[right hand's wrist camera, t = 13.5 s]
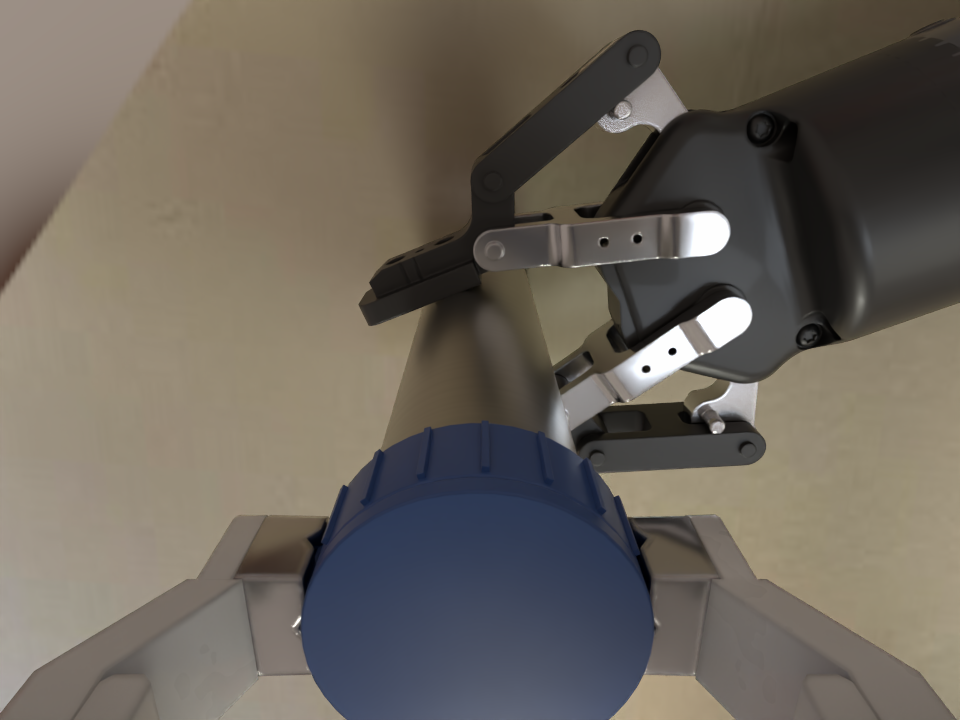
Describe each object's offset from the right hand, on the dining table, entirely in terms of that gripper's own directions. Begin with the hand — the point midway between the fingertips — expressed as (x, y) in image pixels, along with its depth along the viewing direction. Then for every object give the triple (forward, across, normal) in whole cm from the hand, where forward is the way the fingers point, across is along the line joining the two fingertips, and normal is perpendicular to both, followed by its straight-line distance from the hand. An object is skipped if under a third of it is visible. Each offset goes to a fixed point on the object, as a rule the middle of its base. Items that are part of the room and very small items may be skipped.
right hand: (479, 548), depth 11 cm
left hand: (+10, -2, -1) cm, 11 cm away
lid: (-2, 0, 0) cm, 2 cm away
